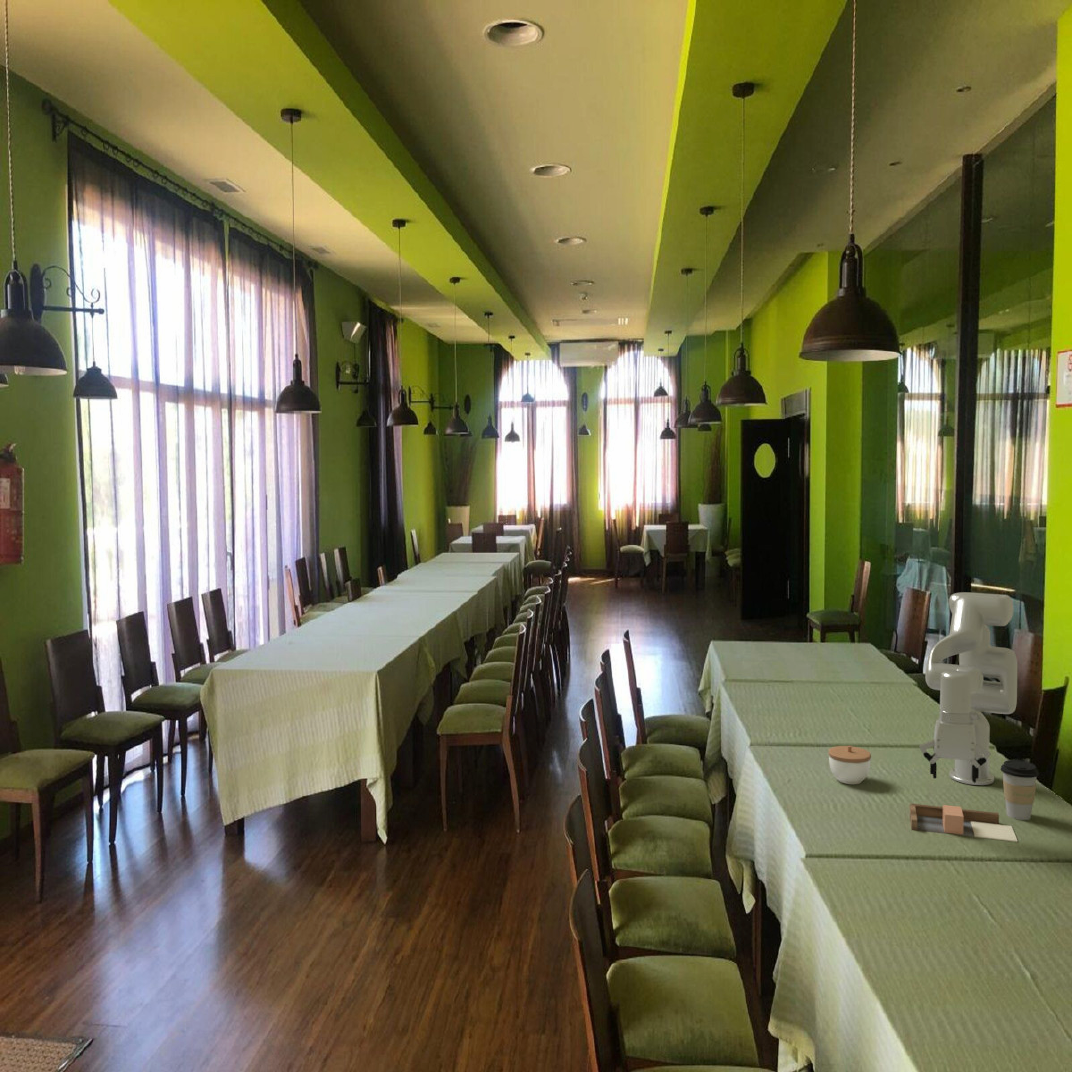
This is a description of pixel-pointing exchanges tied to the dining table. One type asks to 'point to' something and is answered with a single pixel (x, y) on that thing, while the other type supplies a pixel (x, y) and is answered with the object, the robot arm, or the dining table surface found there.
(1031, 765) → the coffee cup
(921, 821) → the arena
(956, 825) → the block
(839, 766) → the lidded bowl
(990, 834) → the pad
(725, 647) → the dining table surface
